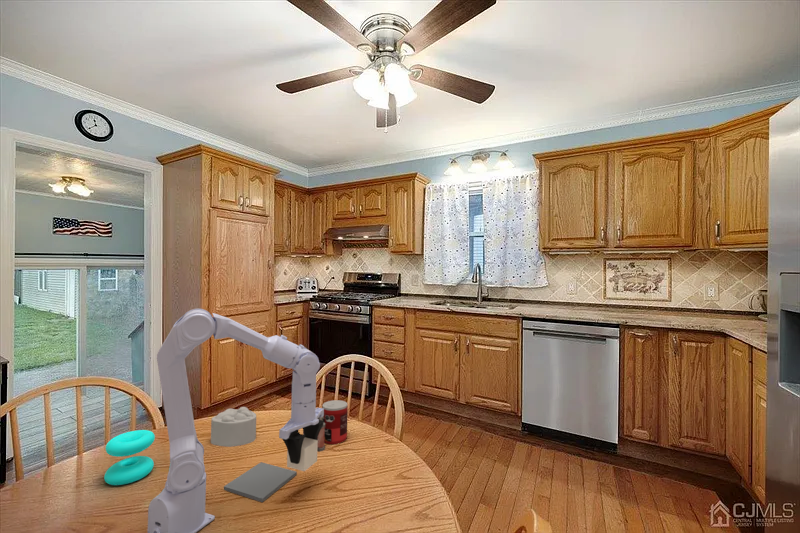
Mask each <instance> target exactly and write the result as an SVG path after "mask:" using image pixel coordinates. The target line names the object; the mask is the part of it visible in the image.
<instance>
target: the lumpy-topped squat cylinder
mask: <svg viewBox="0 0 800 533" xmlns="http://www.w3.org/2000/svg"><path fill="white" fill-rule="evenodd" d="M210 421H211V425H210V444H211V445H213V446H219V447H227V448H228V447H229V448H231V447H233V448H234V447H238V446H239V447H240V446H244V445H248V444H251V443H253V442H255V440H256V438H257V413H255V412H254V411H252V410H249V408H248V407H247V406H240V407H239V408H237V409H235V408H227V409H225V410H224V411H222V412H219V413H218V414H217V415H214V416H212V417H211V420H210Z"/></svg>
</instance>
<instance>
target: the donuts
mask: <svg viewBox="0 0 800 533" xmlns="http://www.w3.org/2000/svg"><path fill="white" fill-rule="evenodd" d="M155 439H156V435H155V433H154V432H153V431H152V430H148V429H138V430H131V431H127V432H124V433H120V434H118V435H116V436H114V437H113V438H111V439H110V440H108V442H107V443H106V445H105V452H106V454H108V455H109V456H112V457H117V458H120V457H122V458H123V457H126V458H123V459H122V460H119V461H117V462H115V463H113V464H112V465H111V466H110V467H109V468H107V469H106V471H105V473H104V477H103V478H104V482H105V483H107V484H108V485H110V486H123V485H128V484H132V483H135V482H136V481H139V480H142V479H143V478H145V477H146V476H147V475H148V474H150V473H151V472H152V471H153V469H154V466H155V463H154V460H153V458H151V457H150V456H147V455H137V454H139V453H141V452H143V451H145V450H146V449H149V447H150V446H152V444H153V443H154V442H155ZM132 455H134V456H132ZM128 456H129V457H128Z"/></svg>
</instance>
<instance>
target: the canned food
mask: <svg viewBox="0 0 800 533" xmlns="http://www.w3.org/2000/svg"><path fill="white" fill-rule="evenodd" d="M321 408H323V409H324V416H323V420H322V421H323V422H324V423H325V434H324V444H327V445H337V444H338V443H339V444H341V442H342V443H343V442H345V441H346V440H347V436H348V411H349V410H348V402H346V401H345V400H338V399H334V400H333V399H332V400H329V401H325V402H323V403H322V406H321Z"/></svg>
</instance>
